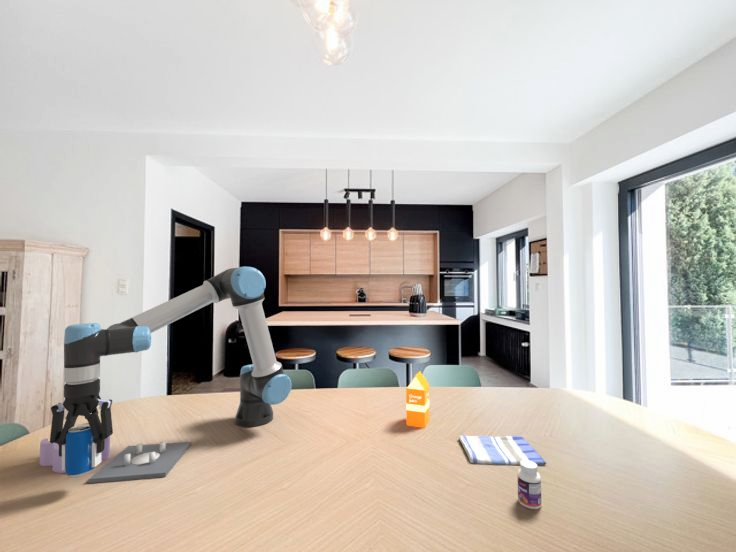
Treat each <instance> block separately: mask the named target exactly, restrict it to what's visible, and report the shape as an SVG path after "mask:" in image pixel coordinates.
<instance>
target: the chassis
mask: <svg viewBox="0 0 736 552" xmlns="http://www.w3.org/2000/svg"><path fill="white" fill-rule="evenodd" d="M191 446H192V441H180V442H166V441H160V442H159V443H153V444H151V443H150V444H143V443H141V442H140V443H139V442H138V443H137V444H136V445H128V446H126V447H125V448H124V449H122V451H120V452H119V453H118V454H116V456H114V457H112V459H111V460H110V461H108V462H107V463H106V464H105V465H104V466H102V467H101V468H100V469H99V470H98V471H96V472H95V473H94V474H93V475H92V476H90V477H89V478H88V484H95V483H96V484H97V483H109V482H120V481H132V480H133V481H134V480H143V479H144V480H145V479H156V478H166V477H167V476H168V474H169V473H170V472H171V470H173V468H174V467H175V465H176V464H177V463H178V462H179V461H180V460H181V459H182V457H183V455H184V454H186V452H187V451H188V450H189V448H190V447H191Z"/></svg>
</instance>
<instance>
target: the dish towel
mask: <svg viewBox="0 0 736 552" xmlns="http://www.w3.org/2000/svg"><path fill="white" fill-rule="evenodd" d="M457 437H458V439H459V441H460V444H461V445H462V447H463V449H464V451H465V453H466V455H467V458H468V460H469V463H471V464H479V465H480V464H481V465H497V466H499V465H500V466H501V465H502V466H503V465H505V466H507V465H508V466H511V465H512V466H520V462H521V461H522V460H529V461H532V462H534V463H536V464H537V466H544V465H547V462H546V461H545V460H544V458H542V456H541V455H540V454H539V453H538V451H537V450H536V449H535V448H534V447H533V446H532V445H531V444H530V443H529V442H528V441H527V440H526V439H525V438H524V437H523V436H522V435H500V436H490V435H489V436H488V435H464V434H460V435H458V436H457Z"/></svg>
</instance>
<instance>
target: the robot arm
mask: <svg viewBox="0 0 736 552" xmlns="http://www.w3.org/2000/svg"><path fill="white" fill-rule="evenodd" d="M266 284H267V283H266V278H265V276H264V275H263V273H262V272H261V271H260V270H259V269H257V268H256V267H252V266H245V265H244V266H239V267H235V268H234V267H233V268H231V267H230V268H228V269H225V270H224V271H221V272H220V273H218V274H216V275H214V276H211V277H210V278H208V279H205V280H204V281H203V284H202V285H200V286H198V287H195V288H193V289H191V290H188V291H187V292H185V293H182V294H180V295H178V296H176V297H173V298H171V299H169V300H167V301H164V302H163V303H160V304H158V305H156V306H154V307H152V308H150V309H147V310H145V311H143V312H140V313H139V314H136V315H134V316H132V317H130V318H128V319H126V320H124V321H121V322H119V323H118V322H117V323H114V324H111V325H110V326H108V327H107V328H106V329H105V328H102V327H101V324H100V323H97V322H89V323H77V324H70V325H68V326H67V327H65V329H64V339H63V340H64V341H63V382H64V383H65V384H64V385H63V397H64V400H63V402H58V403H56V404H54V405H52V406H51V407H50V412H51V414H52V419H51V425H50V435H49V442H50V443H57V444H58V445H59V456H60V457H61V456H62V470H66V434H67V433H68V432H69V431H68V430H69V429H70V428H71V427H73V426H76V422H77V419H78V417H79V416H81V417H84V419H85V420H87V423H89V425H90V428H91V431H92V433H93V436H94V439H95V441H94V442H93V443H92V467H95V468H96V467H97V466H99V465H100V463H102V461H101V452H102V451H104V449H105V439H106V438H108V437H111V436H112V435H113V433H114V430H113V419H112V404H113V400H112V399H108V400H107V399H106V400H105V399H102V398H101V396H100V393H101V379H100V376H101V357H107V356H112V355H113V356H114V355H121V354H131V353H140V352H144V351H148V350H149V349H150V348H151V345H152V333H155V332H156V331H158V330H160V329H162V328H164V327H167V326H168V325H170V324H172V323H174V322H176V321H179V320H181V319H182V318H185V317H186V316H188V315H190V314H192V313H194V312H196V311H199V310H200V309H202V308H204V307H206V306H209V305H210V304H212V303H215V304H218V303H220V302H222V301H224V300H228V299H230V301H231V304H232V307H233V308H235V309H237V310H238V314H239V317H240V321H241V324H242V328H243V332H244V335H245V339H246V343H247V346H248V350H249V354H250V357H251V361H252V364H247V365H243V366H242V367H241V369H240V374H239V377H240V379H239V380H240V381H239V384H240V387H239V388H240V390H239V391H240V392H239V395H240V396H239V398H240V399H239V405H238V408H237V411H236V414H235V417H234V418H235V419H234V420H235V421H234V422H235V424H236V425H237V426H240V427H246V428H250V427H252V428H253V427H259V426H263V425H266V424H267V423H270V422H272V420H274V410H273V406H275V405H280V404H281V403H283V402H284V401H285V400H287V398H288V397H289V394H290V393H291V391H292V387H293V386H292V385H293V384H292V380H291V378H290V377H289V376H288V375H287V374H285V372H284V368H283V365H282V363H281V362H279V361H277V358H276V354H275V350H274V347H273V342H272V338H271V334H270V331H269V327H268V323H267V319H266V316H265V311H264V308H263V301H264V300H265V294H264V292H265V289H266V286H267V285H266ZM272 405H273V406H272ZM98 406H99V407H98ZM98 408H99V409H100V411H99V410H98ZM65 410H66V411H67V413H66V416H65ZM99 412H100V416H99ZM64 419H65V421H64Z"/></svg>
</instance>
